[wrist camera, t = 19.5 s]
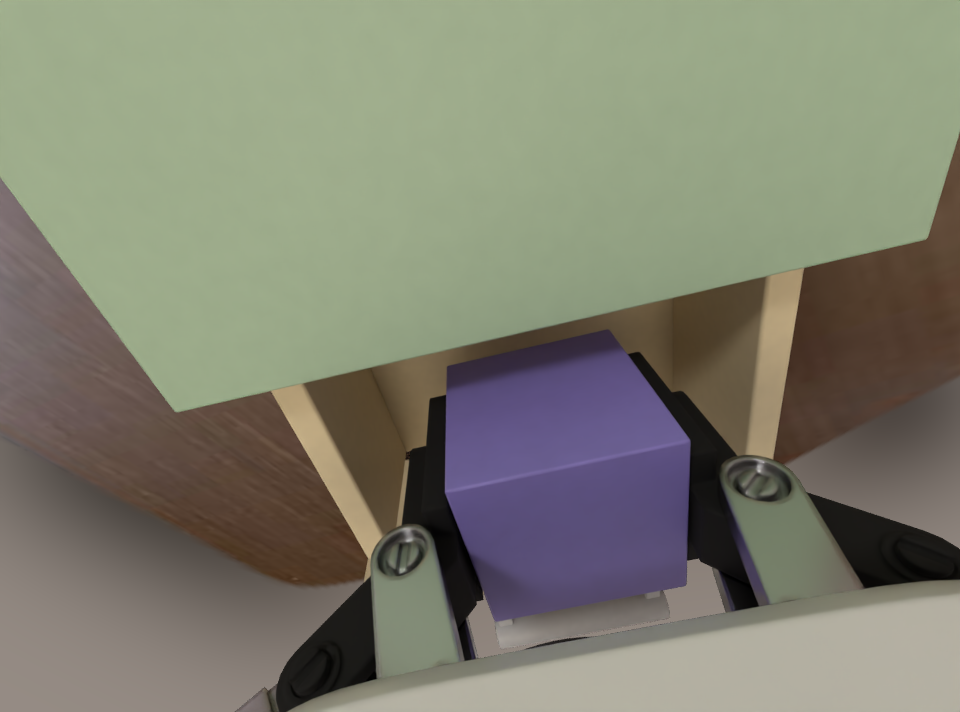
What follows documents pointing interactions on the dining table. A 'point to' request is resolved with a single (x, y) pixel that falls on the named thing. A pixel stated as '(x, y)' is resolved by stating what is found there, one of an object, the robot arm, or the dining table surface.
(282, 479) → the dining table surface
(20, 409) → the dining table surface
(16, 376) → the dining table surface
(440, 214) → the drawer cabinet
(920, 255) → the dining table surface
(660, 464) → the purple cube
